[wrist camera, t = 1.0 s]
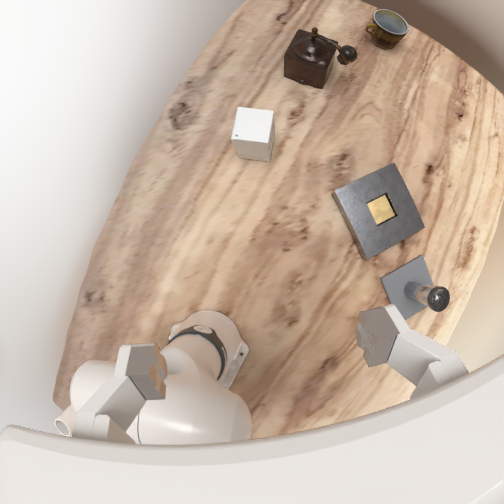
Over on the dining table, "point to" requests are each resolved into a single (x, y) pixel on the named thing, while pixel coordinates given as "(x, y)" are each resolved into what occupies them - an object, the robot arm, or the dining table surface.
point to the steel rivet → (428, 295)
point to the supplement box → (253, 133)
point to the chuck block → (361, 219)
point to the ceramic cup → (387, 28)
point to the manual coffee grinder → (314, 58)
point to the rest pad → (400, 278)
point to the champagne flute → (66, 421)
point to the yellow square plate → (380, 209)
